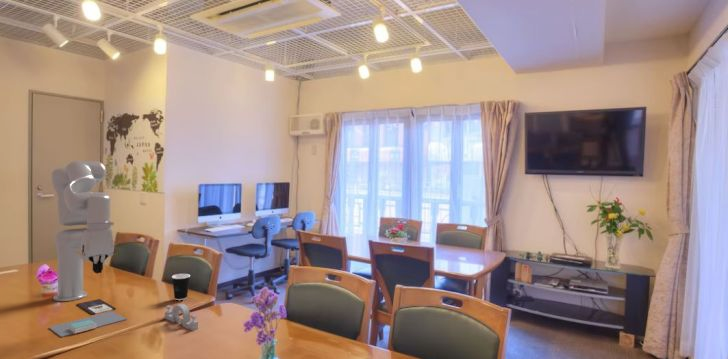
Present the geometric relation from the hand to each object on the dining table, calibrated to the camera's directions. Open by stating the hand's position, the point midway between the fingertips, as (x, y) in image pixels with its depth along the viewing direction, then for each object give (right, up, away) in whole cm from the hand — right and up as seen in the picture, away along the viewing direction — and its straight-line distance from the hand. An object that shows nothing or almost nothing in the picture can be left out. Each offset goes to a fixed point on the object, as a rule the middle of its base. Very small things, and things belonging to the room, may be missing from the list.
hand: (97, 272), depth 160 cm
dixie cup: (+19, -20, +30) cm, 40 cm away
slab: (-3, -19, -5) cm, 20 cm away
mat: (-2, -20, -2) cm, 20 cm away
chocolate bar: (-12, -20, +17) cm, 28 cm away
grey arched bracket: (+32, -21, +1) cm, 38 cm away
